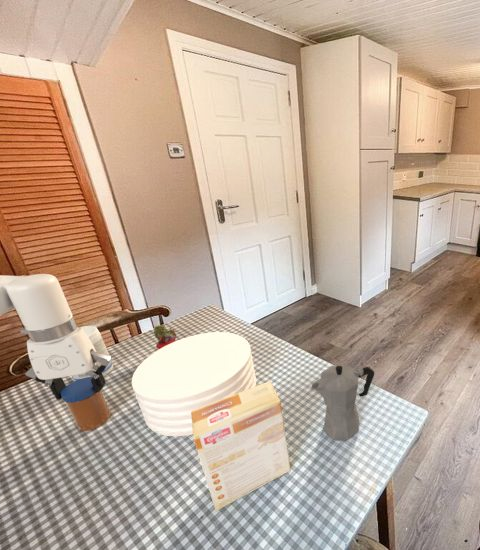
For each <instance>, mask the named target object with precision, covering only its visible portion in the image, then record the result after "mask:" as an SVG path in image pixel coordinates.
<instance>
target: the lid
mask: <svg viewBox="0 0 480 550" xmlns="http://www.w3.org/2000/svg"><path fill="white" fill-rule="evenodd" d="M91 379H92V377H86V378H82V379H79V380H76V381H74V380H73V381H72V382H70V383H69V384H67V385H66V387H64V388H63V389H62V391H61V397H62V398H61V399H62V401H63V402H64V403H66V402H67V403H74V402H78V401H81V400H84V399H86V398H88V397H90V396H92V395H93V394H94V393H96V392H95V390H94V388H93V385H92V383H91Z"/></svg>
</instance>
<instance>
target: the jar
mask: <svg viewBox="0 0 480 550" xmlns="http://www.w3.org/2000/svg"><path fill="white" fill-rule="evenodd" d="M65 404H66V406H67V408H68V411H69V412H70V414H71V416H72V418H73V420H74V423H75V425H76V427H77V429H78V430H79V431H81V432H89V431H92V430H95V429H97V428H99V427H101V426H103V425H104V424H106V423H107V422H108V421H109V419H110V418H111V416H112V413H111V410H110V408H109V405H108V403H107V400H106V398H105V396H104V394H103V391H102V390H101V391H100V392H96V393H94V394H93V395H92V396H90V397H88V398H86V399H84V400H81V401H78V402H74V403H67V402H65Z"/></svg>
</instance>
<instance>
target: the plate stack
mask: <svg viewBox="0 0 480 550" xmlns="http://www.w3.org/2000/svg"><path fill="white" fill-rule="evenodd" d="M255 386H257V377H256V372H255V367H254V361H253V355H252V348H251V345H250V342H249V341H248V340H247V339H246V338H245V337H243V336H242V335H240V334H237V333H233V332H227V331H213V332H203V333H199V334H194V335H190V336H186V337H184V338H179V340H178V339H177V340H175V342H173V343H171V344H168V345H166V346H164V347H163V348H161V349H157V350H156V351H154V352H153V353H151V354H150V355H149V356H147V357H146V358H145V359H144V360H143V361H142V362H140V364H139V365H138V366H137V368H136V369H135V370H134V372H133V374H132V377H131V387H132V390H133V392H134V395H135V398H136V401H137V403H138V406H139V408H140V411H141V414H142V417H143V419H144V422H145V424H146V426H147V427H148V429H150V431H152V432H153V433H155V434H158V435H161V436H166V437H186V436H191V435H192V436H193V430H192V419H191V411H193V410H196V409H199V408H201V407H204V406H206V405H209V404H211V403H214V402H217V401H219V400H222V399H224V398H227V397H229V396H232V395H235V394H237V393H240V392H242V391H245V390H248V389H250V388H253V387H255Z"/></svg>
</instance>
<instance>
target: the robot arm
mask: <svg viewBox="0 0 480 550" xmlns="http://www.w3.org/2000/svg"><path fill="white" fill-rule="evenodd" d="M13 310H15V311H16V314H17V315H18V317H19V319H20V321H21V323H22V325H23V327H22V328H21V329H20V334H21V335H27V336H28V338H29V339H27V340H26V349H27V354H28V358H29V361H30V364H31V367H30V368H29V369H28V370H27V371H26V372H25V373H24V375H25V376H26V377H28V378H31V379H33V380H35V381H36V382H39V383H41V384H44V385H43V386H45V387H47V388H49V389H50V391H51V392H52V395H53V396H54V397H55V399H56V400H57V401H59V400H61V399H62V397H61V391H62V389H63V388H64V387H66V386H67V385H66V383H65V381H64V379H63V378H68V377H72V376H74V375H80V374H84V373H86V374H88V375H89V376H91V377H92V379H91V383H92V385H93V388H94V390H95V392H100V391H102V390H103V388H104V387H105V385H106V380H105V376H104V377H103V374H102V372H103V371H104V370H105V368H106V367H107V366H108V364H109V363H110V361H111V360H112V361H113V358H112V357H111V356H110V357H109V356H106V355H103V354H100V353H97V352H96V350H95V348H94V346H93V344H92V342H91V340H90V339H89V337H88V336H87V334H86V333H85V332H84V331H83V329H82V328H79V326H78V324H77V321H76V319H75V317H74V315H73V313H72V310H71V308H70V306H69V303H68V300H67V298H66V296H65V293H64V291H63V289H62V287H61V284H60V282H59V280H58V278H57V277H56V276H55V275H54V274H49V273H36V274H30V275H29V274H28V275H25V276H24V275H7V274H6V275H5V274H1V275H0V317H2V316H3V315H5V314H6V313H9V312H11V311H13ZM97 361H99V362H101V363H102V364H101V366H99V365H98V364H97V363H95V362H97ZM92 368H93V369H94V370H95V371H96V372H95V371H94V370H92Z"/></svg>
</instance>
